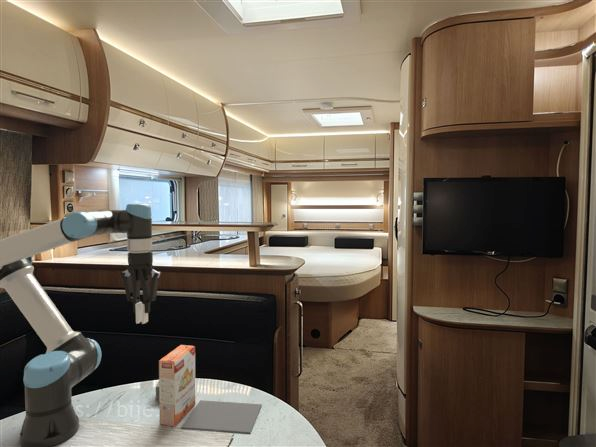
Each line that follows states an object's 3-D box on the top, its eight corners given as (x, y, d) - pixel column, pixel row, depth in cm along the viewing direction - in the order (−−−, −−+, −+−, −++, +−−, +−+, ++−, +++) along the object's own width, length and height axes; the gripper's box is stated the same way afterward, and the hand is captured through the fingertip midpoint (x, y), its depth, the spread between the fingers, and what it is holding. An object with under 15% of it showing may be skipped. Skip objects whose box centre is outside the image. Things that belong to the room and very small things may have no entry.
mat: (180, 428, 119) (180, 427, 119) (200, 401, 135) (200, 400, 135) (250, 433, 117) (250, 432, 117) (261, 405, 132) (261, 404, 132)
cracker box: (176, 427, 120) (174, 362, 118) (158, 425, 121) (157, 360, 120) (197, 404, 133) (195, 345, 132) (181, 402, 135) (179, 343, 133)
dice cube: (156, 400, 136) (155, 387, 135) (159, 393, 141) (158, 380, 140) (170, 399, 136) (170, 386, 136) (173, 392, 141) (173, 379, 141)
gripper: (166, 250, 128) (168, 319, 130) (125, 249, 130) (128, 318, 131) (155, 253, 121) (157, 327, 122) (112, 252, 122) (114, 325, 124)
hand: (142, 322), depth 127 cm, fingers closed
